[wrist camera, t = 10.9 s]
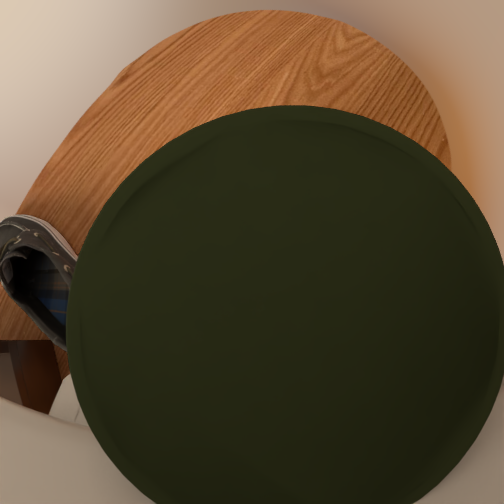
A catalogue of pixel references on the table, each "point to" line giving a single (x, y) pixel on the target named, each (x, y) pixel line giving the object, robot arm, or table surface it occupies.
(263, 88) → the table surface
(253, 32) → the table surface
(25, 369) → the shoe bench
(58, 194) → the table surface
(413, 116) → the table surface
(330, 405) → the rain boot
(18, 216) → the boat shoe
